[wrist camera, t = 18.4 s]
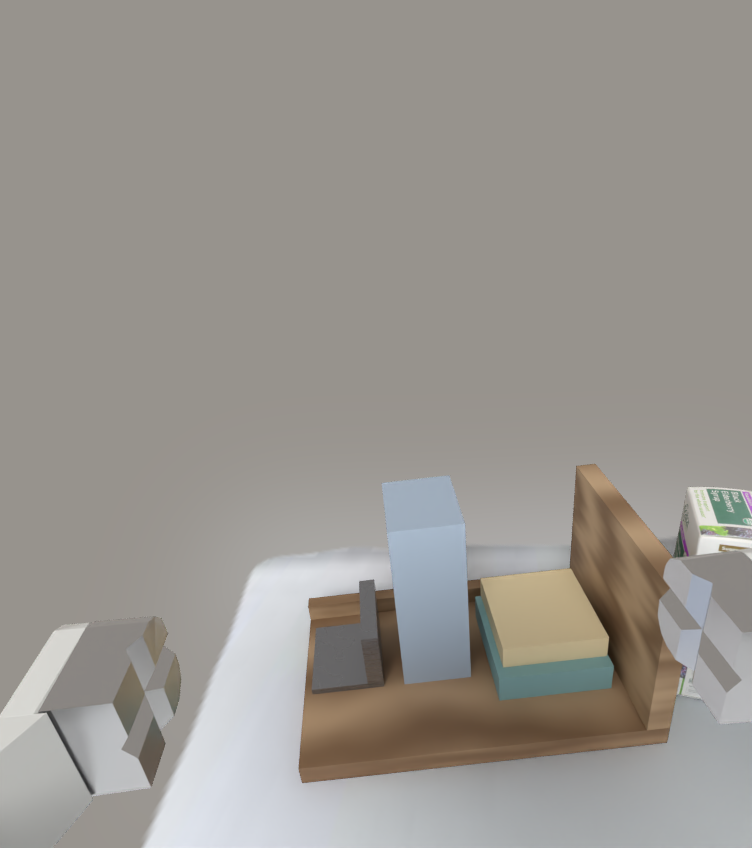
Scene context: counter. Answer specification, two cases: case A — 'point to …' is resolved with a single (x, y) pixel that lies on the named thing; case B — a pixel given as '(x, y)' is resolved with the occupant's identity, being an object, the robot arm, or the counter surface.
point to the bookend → (350, 650)
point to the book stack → (542, 635)
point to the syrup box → (712, 536)
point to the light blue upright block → (429, 578)
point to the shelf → (477, 696)
